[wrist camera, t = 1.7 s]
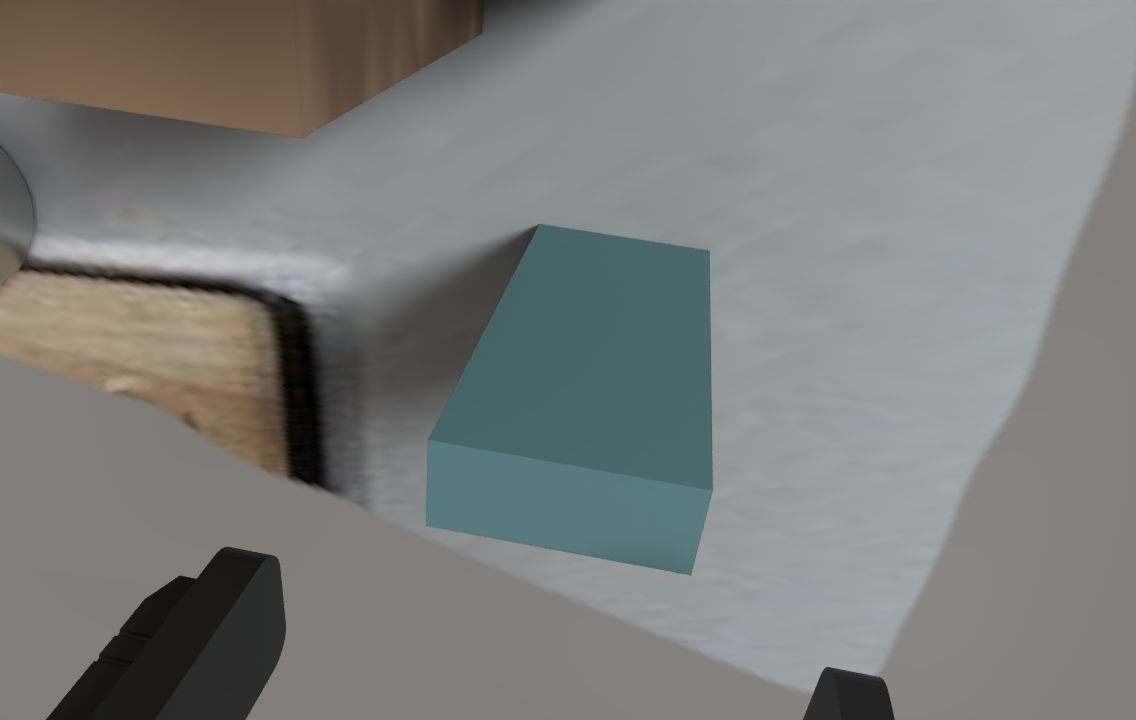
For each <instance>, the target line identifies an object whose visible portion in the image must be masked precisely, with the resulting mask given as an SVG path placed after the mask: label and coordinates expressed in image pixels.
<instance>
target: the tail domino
mask: <svg viewBox="0 0 1136 720" xmlns="http://www.w3.org/2000/svg"><path fill="white" fill-rule="evenodd" d="M712 491H713V478H712V400H711V322H710V251H708V250H701V249H695V248H688V247H682V246H676V245H669V244H663V243H657V242H650V241H644V240H637V239H631V238H625V237H618V236H612V235H605V234H599V233H593V232H586V231H580V230H573V229H567V228H561V227H554V226H548V225H542V224H539V226H538V228H537V230H536V232H535V234H534V236H533V238H532V240H531V241H530V243H529V245H528V247H527V249H526V251H525V253H524V255H523V257H522V259H521V261H520V263H519V265H518V267H517V269H516V270H515V272H514V274H513V276H512V278H511V280H510V282H509V284H508V286H507V288H506V290H505V292H504V294H503V296H502V298H501V299H500V301H499V303H498V305H497V307H496V309H495V311H494V313H493V315H492V317H491V319H490V321H489V323H488V325H487V327H486V328H485V330H484V332H483V334H482V336H481V338H480V340H479V342H478V344H477V346H476V348H475V350H474V352H473V354H472V356H471V357H470V359H469V361H468V363H467V365H466V367H465V369H464V371H463V373H462V375H461V377H460V379H459V381H458V383H457V385H456V386H455V388H454V390H453V392H452V394H451V396H450V398H449V400H448V402H447V404H446V406H445V408H444V410H443V412H442V414H441V415H440V417H439V419H438V421H437V423H436V425H435V427H434V429H433V431H432V433H431V435H430V437H429V439H428V458H427V501H426V526H430V527H435V528H440V529H446V530H451V531H456V532H462V533H467V534H472V535H478V536H483V537H489V538H494V539H499V540H505V541H510V542H515V543H521V544H526V545H531V546H537V547H542V548H547V549H553V550H558V551H564V552H569V553H574V554H580V555H585V556H590V557H596V558H601V559H606V560H612V561H617V562H622V563H628V564H633V565H639V566H644V567H649V568H655V569H660V570H665V571H671V572H676V573H681V574H687V575H691V574H692V570H693V566H694V562H695V558H696V554H697V550H698V546H699V542H700V538H701V534H702V530H703V527H704V523H705V519H706V515H707V511H708V507H709V503H710V499H711V495H712Z"/></svg>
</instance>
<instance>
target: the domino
mask: <svg viewBox="0 0 1136 720" xmlns="http://www.w3.org/2000/svg"><path fill="white" fill-rule="evenodd" d="M482 20H483V0H0V93H6V94H12V95H19V96H25V97H32V98H39V99H45V100H52V101H58V102H65V103H72V104H78V105H85V106H91V107H98V108H104V109H111V110H118V111H124V112H131V113H137V114H144V115H151V116H157V117H164V118H170V119H177V120H184V121H190V122H197V123H203V124H210V125H217V126H223V127H230V128H236V129H243V130H250V131H256V132H263V133H269V134H276V135H283V136H289V137H296V138H303V137H305V136H306V135H308V134H310V133H312V132H313V131H315V130H317V129H318V128H320V127H322V126H324V125H325V124H327V123H329V122H331V121H332V120H334V119H336V118H337V117H339V116H341V115H343V114H344V113H346V112H348V111H349V110H351V109H353V108H355V107H356V106H358V105H360V104H361V103H363V102H365V101H367V100H368V99H370V98H372V97H374V96H375V95H377V94H379V93H380V92H382V91H384V90H386V89H387V88H389V87H391V86H392V85H394V84H396V83H398V82H399V81H401V80H403V79H404V78H406V77H408V76H410V75H411V74H413V73H415V72H417V71H418V70H420V69H422V68H423V67H425V66H427V65H429V64H430V63H432V62H434V61H435V60H437V59H439V58H441V57H442V56H444V55H446V54H447V53H449V52H451V51H453V50H454V49H456V48H458V47H460V46H461V45H463V44H465V43H466V42H468V41H470V40H472V39H473V38H475V37H477V36H478V35H480V34H482Z"/></svg>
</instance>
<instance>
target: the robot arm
mask: <svg viewBox="0 0 1136 720" xmlns="http://www.w3.org/2000/svg"><path fill="white" fill-rule="evenodd" d="M285 634H286V622H285V611H284V601H283V591H282V581H281V571H280V563H279V560H278V558H277V557H275V556H272V555H268V554H262V553H257V552H252V551H247V550H242V549H237V548H232V547H224V548H222V549H221V550H220V551H218V553H216V555H215V556H214V557H213V559H212V560H211V561H210V562H209V564H208V565H207V566H206V567H205V569H204V570H203V571H202V573H201V574H200V575H199V577H198V578H197V579H194V578H189V577H184V576H178V577H177V578H175V579H174V580H173V581H171V582H170V583H168V584H167V585H165V586H164V587H162V588H161V589H159V590H158V591H156V592H155V593H153V594H152V595H150V596H149V597H147V598H146V599H145V600H144V601H143V602H142V603H141V604H140V606H139V607H138V608H137V609H136V610H135V612H134V613H133V614H132V615H131V617H130V618H129V619H128V620H127V622H126V623H125V624H124V625H123V626H122V628H121V629H120V633H119V635H118V636H114V637H113V639H112V640H111V641H110V642H109V643H108V645H107V646H106V647H105V648H104V650H103V651H102V652H101V653H100V654H99V659H98V660H97V661H94V662H93V663H92V664H91V665H90V667H89V668H88V669H87V670H86V671H85V673H84V674H83V675H82V676H81V678H80V679H79V680H78V681H77V682H76V684H75V685H74V686H73V687H72V688H71V690H70V691H69V692H68V693H67V695H66V696H65V697H64V698H63V699H62V701H61V702H60V703H59V704H58V706H57V707H56V708H55V709H54V711H53V712H52V713H51V714H50V715H49V717H48V718H47V719H46V720H245V719H246V718H247V716H248V714H249V713H250V711H251V709H252V707H253V706H254V704H255V702H256V701H257V699H258V697H259V695H260V694H261V692H262V690H263V688H264V687H265V685H266V683H267V681H268V680H269V677H270V676H271V674H272V673H273V671H274V669H275V667H276V665H277V663H278V660H279V658H280V655H281V651H282V649H283V645H284V640H285ZM803 720H895V719H894V714H893V711H892V706H891V701H890V697H889V693H888V689H887V686H886V684H885V682H884V680H883V679H882V678H880V677H876V676H871V675H866V674H861V673H856V672H851V671H846V670H841V669H836V668H831V667H826V668H825V669H824V670H823V672H822V674H821V676H820V678H819V681H818V683H817V686H816V688H815V691H814V693H813V696H812V698H811V701H810V703H809V706H808V709H807V711H806V713H805V716H804V718H803Z"/></svg>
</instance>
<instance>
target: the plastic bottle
mask: <svg viewBox="0 0 1136 720" xmlns="http://www.w3.org/2000/svg"><path fill="white" fill-rule="evenodd" d="M33 223H34V213H33V207H32V201H31V198H30V195H29V192H28V189H27V186H26V184H25V182H24V180H23V178H22V176H21V174H20V173H19V171H18V169H17V167H16V166H15V165H14V163H13V162H12V160H11V159H10V158H9V156H8V155H7V154H6V152H5V151H4V150H3V149H2V148H1V147H0V285H2V284H3V283H4V282H5V281H6V280H7V279H8V278H10V277H11V276H12V275H13V274H14V273H15V272H16V271H18V270H19V268H20V267H21V265H22V264H23V262H24V261H25V259H26V257H27V254H28V251H29V248H30V245H31V239H32V233H33Z"/></svg>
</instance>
